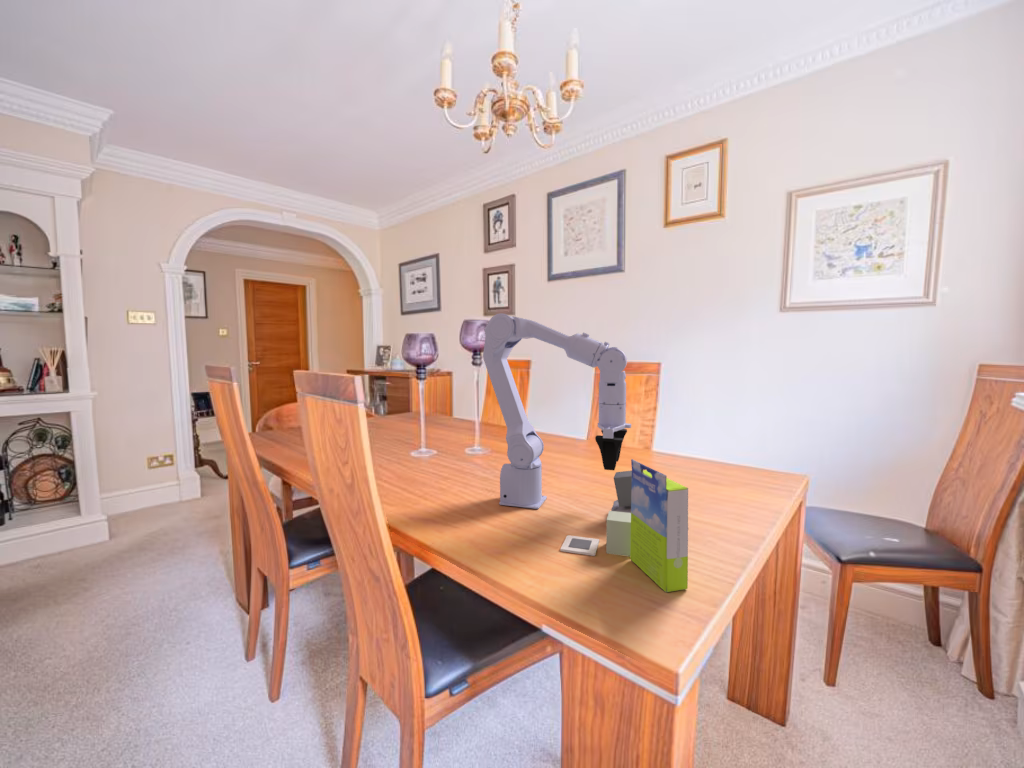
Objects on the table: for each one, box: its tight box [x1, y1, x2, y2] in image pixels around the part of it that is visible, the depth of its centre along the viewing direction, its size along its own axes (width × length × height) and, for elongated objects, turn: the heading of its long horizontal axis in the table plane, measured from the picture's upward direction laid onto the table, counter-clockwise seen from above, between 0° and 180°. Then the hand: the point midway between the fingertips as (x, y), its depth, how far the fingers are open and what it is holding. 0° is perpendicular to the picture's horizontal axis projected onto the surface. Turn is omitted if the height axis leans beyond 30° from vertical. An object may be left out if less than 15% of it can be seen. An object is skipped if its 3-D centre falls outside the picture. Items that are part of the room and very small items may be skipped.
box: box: [629, 458, 689, 593], centre depth 66 cm, size 10×4×17 cm, turn 13°
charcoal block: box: [613, 470, 632, 507], centre depth 88 cm, size 4×4×6 cm
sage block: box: [605, 510, 631, 557], centre depth 75 cm, size 4×4×6 cm
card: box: [559, 534, 600, 557], centre depth 76 cm, size 6×6×1 cm
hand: (611, 465), depth 92 cm, fingers open, 7 cm apart
